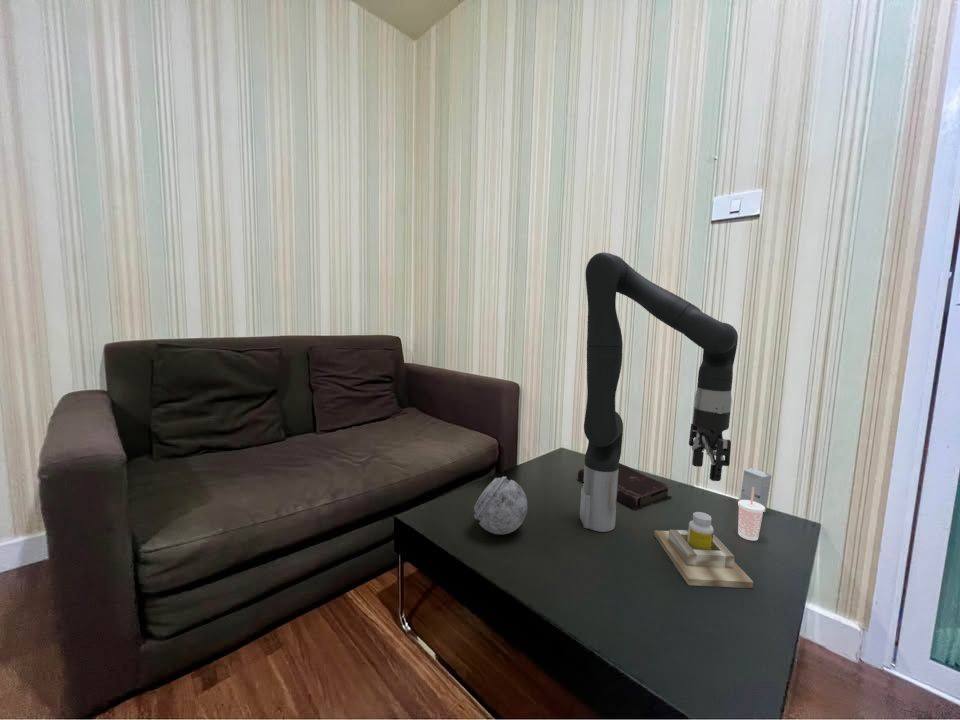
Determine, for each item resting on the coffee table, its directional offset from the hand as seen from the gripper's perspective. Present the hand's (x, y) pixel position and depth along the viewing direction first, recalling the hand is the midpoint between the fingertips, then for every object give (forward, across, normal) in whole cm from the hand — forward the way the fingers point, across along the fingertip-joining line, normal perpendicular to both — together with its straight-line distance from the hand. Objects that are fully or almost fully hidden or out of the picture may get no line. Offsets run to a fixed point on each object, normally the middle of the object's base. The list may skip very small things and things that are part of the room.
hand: (705, 472), depth 98 cm
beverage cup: (+22, -12, +19) cm, 32 cm away
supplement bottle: (+21, 0, 0) cm, 21 cm away
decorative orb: (+22, -8, -49) cm, 55 cm away
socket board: (+22, 0, 0) cm, 22 cm away
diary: (+23, -39, -7) cm, 45 cm away
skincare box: (+22, -28, +30) cm, 46 cm away
